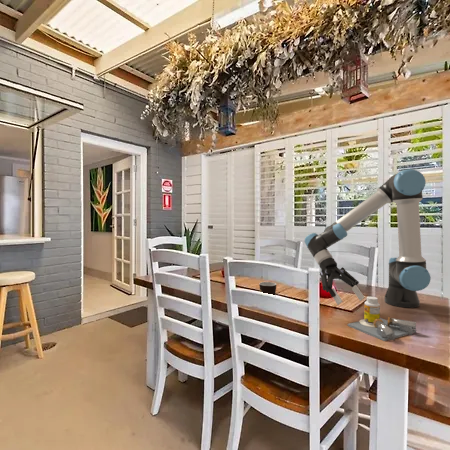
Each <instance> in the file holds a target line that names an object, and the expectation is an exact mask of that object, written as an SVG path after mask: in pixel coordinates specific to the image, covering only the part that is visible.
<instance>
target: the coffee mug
mask: <svg viewBox="0 0 450 450" xmlns="http://www.w3.org/2000/svg"><path fill="white" fill-rule="evenodd" d="M258 284H259V292H263V293H268V294H273V295H275V296H276V293H277V292H276V291H277V283H276V282H272V281H261V282H259V283H258Z"/></svg>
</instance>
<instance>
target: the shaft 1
mask: <svg viewBox="0 0 450 450" xmlns="http://www.w3.org/2000/svg"><path fill="white" fill-rule="evenodd" d="M373 325H374V326H375V327H376V328H377V334H378V335H379V336H381V337H382V338H389V340H388V341H395V340H396V338H395V332H394V331H393V330H392V329H391V328H389V327H388V326H386V325H385V324H384V322H383V321H382V320H381V319H375V320H374V322H373Z"/></svg>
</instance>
